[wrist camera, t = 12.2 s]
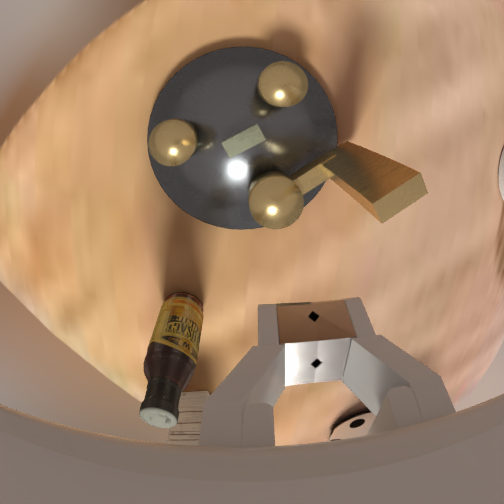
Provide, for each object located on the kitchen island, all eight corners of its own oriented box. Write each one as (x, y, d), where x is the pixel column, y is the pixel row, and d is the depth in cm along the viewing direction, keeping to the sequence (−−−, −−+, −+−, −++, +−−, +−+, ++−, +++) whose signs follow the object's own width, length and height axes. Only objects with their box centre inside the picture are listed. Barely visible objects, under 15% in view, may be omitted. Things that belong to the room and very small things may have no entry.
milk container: (312, 429, 64) (326, 494, 48) (376, 395, 60) (402, 461, 44) (343, 446, 71) (358, 499, 55) (398, 417, 66) (420, 470, 50)
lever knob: (338, 125, 33) (410, 147, 18) (361, 168, 35) (435, 214, 21) (237, 189, 36) (242, 253, 21) (265, 228, 38) (286, 309, 24)
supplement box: (217, 410, 57) (217, 462, 46) (182, 411, 57) (178, 463, 46) (209, 389, 54) (208, 446, 43) (172, 391, 54) (165, 446, 43)
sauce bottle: (212, 306, 45) (206, 423, 27) (186, 329, 47) (171, 441, 29) (178, 280, 42) (152, 396, 25) (152, 305, 44) (121, 416, 27)
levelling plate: (283, 20, 28) (290, 10, 24) (359, 178, 37) (373, 188, 33) (118, 109, 31) (104, 111, 27) (208, 253, 41) (206, 270, 37)
